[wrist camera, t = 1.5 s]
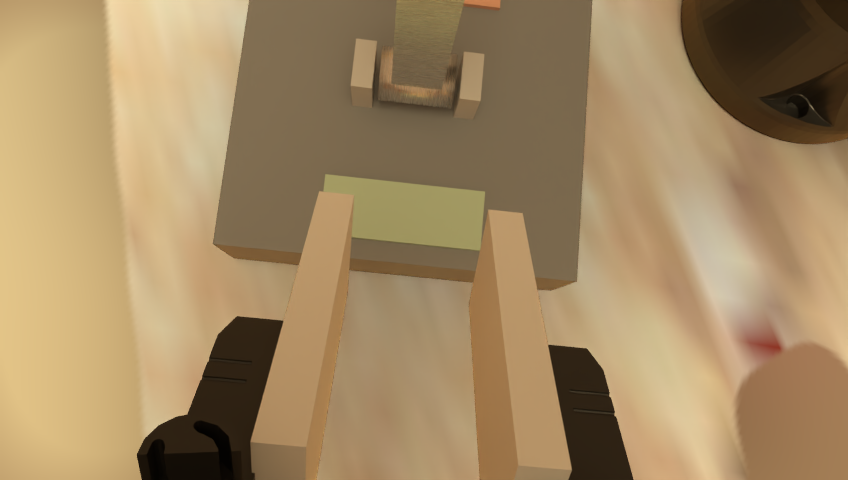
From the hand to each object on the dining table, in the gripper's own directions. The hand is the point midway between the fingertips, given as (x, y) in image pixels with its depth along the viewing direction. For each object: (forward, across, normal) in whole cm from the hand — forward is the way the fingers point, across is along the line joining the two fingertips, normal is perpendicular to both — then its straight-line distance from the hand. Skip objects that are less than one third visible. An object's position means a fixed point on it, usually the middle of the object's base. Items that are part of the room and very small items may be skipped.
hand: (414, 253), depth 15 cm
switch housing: (+24, 0, -8) cm, 25 cm away
